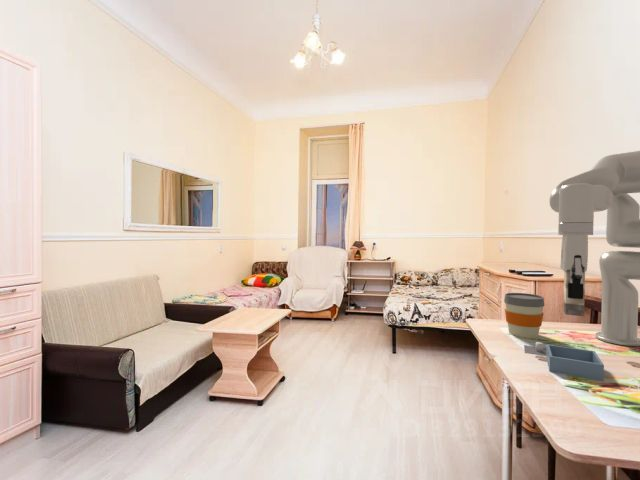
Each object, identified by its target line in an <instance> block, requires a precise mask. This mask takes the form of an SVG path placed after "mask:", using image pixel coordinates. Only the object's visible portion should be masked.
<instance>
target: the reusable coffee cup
mask: <svg viewBox="0 0 640 480" xmlns="http://www.w3.org/2000/svg"><path fill="white" fill-rule="evenodd" d="M503 302H504V304H505V308H504V314H505V321H506V323H507V330H508V333H509V334H510V335H512V336H515V337H518V338H519V337H520V338H525V339H534V338H538V337H539V333H540V327H542V323H543V319H544V312H543V310H544V307H545V298H544V296H541V295H538V294H533V293H524V292H523V293H522V292H507V293H505V294H504V300H503Z"/></svg>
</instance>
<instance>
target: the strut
mask: <svg viewBox="0 0 640 480" xmlns="http://www.w3.org/2000/svg"><path fill="white" fill-rule="evenodd" d="M563 271H564V270H563ZM572 271H573V272H575V270H572ZM583 272H584V271H583ZM563 274H564V275H563V281H564V282H563V313H564V315H566V316H567V315H568V316H576V317H577V316H578V317H584V316H585V298H586V297H585V296H586V295H585V293H586V292H585V291H586V289H585V288H586V272H584V273H583V299H573V298H568V283H569V270H567V272H565V271H564V272H563ZM572 275H573V274H572Z"/></svg>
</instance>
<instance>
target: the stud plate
mask: <svg viewBox="0 0 640 480" xmlns="http://www.w3.org/2000/svg"><path fill="white" fill-rule="evenodd" d="M523 348H524V354H529V355H536V356H542V357H546V348H545V347H544V342H540V341H536V342H535V346H534V345H533V346H532V345H526V344H524V345H523Z"/></svg>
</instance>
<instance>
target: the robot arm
mask: <svg viewBox="0 0 640 480" xmlns="http://www.w3.org/2000/svg"><path fill="white" fill-rule="evenodd" d="M637 193H638V194H639V193H640V150H636V151H629V152H622V153H614V154H609V155H605V156H604V157H602V158H600V159H599V160H598V161H597V162H596V163H595V164H594V165H593V166H592V167H591V168H590V169H589V170H587V171H585V172H582V173H579V174H577V175H574V176H571V177H570V178H567V179H565V180H562V181H561V182H559V183H558V185H556V187H554V189H553V190H552V191H551V193H550V196H549V207H550V208H551V211H554V212H555V213H558V227H557V228H558V236H561V238H562V239H561V246H560V247H561V252H560V264H559V265H560V268H559V269H561V270H562V271H565V272H567V270H569V283H568V298H573V299H583V273H584V272H585V273H586V272H587V270H588V260H589V259H588V257H589V236H594V217H595V216H594V215H595V213H598V212H603V211H606V228H605V232H606V233H605V236H606V242H607V244H608V245H610V246H612V247H618V248H636V249H637V248H639V249H640V204H639V203H638V201H637V200H636V199H635V198H633V196H631V195H630V194H637ZM598 263H599V270H600V275H601V315H600V317H601V321H600V322H601V323H600V324H601V325H600V327H601V328H600V331H598V332H596V333H595V338H596V339H598V340H600V341H603V342H607V343H610V344H615V345H619V346H620V345H621V346H628V347H640V337H638V327H639V326H638V323H639V321H638V320H639V318H638V317H639V291H638V289H637V288H636V286H635V285H634V284H633V283H632V282H631V281H630V280H634V281H635V280H636V281H640V251H634V250H633V251H630V250H629V251H628V250H627V251H626V250H610V251H606V252H605V253H602V255H601V256H600V257H599V262H598ZM572 270H575V272H573V271H572ZM583 271H584V272H583ZM572 274H573V275H572Z"/></svg>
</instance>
